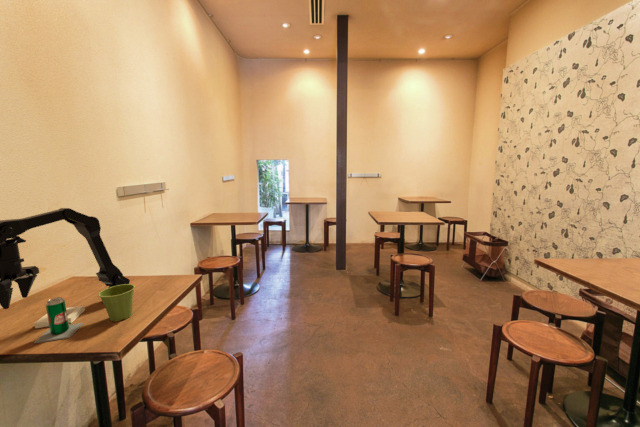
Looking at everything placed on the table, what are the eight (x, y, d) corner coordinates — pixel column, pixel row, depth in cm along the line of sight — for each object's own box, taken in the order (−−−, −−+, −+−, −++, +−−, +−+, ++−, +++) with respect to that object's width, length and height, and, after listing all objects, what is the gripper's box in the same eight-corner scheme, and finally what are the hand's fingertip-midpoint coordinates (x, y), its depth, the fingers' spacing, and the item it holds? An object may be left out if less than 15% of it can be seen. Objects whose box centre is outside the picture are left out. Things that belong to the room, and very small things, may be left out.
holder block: (84, 310, 124) (84, 305, 123) (71, 323, 113) (70, 318, 113) (52, 314, 120) (51, 309, 120) (35, 328, 110) (34, 323, 110)
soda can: (57, 336, 103) (52, 303, 101) (47, 334, 104) (41, 302, 102) (73, 328, 108) (67, 297, 106) (62, 327, 109) (57, 296, 107)
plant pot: (107, 313, 120) (103, 287, 118) (141, 308, 124) (138, 282, 122) (97, 327, 109) (93, 298, 107) (134, 321, 113) (131, 293, 111)
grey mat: (83, 323, 112) (83, 322, 112) (69, 337, 103) (69, 336, 102) (51, 328, 109) (51, 327, 109) (34, 343, 100) (34, 342, 100)
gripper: (-3, 253, 105) (5, 295, 107) (-49, 269, 88) (-39, 319, 90) (36, 250, 108) (43, 291, 111) (-2, 265, 91) (7, 313, 93)
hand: (16, 303), depth 101 cm, fingers open, 9 cm apart
